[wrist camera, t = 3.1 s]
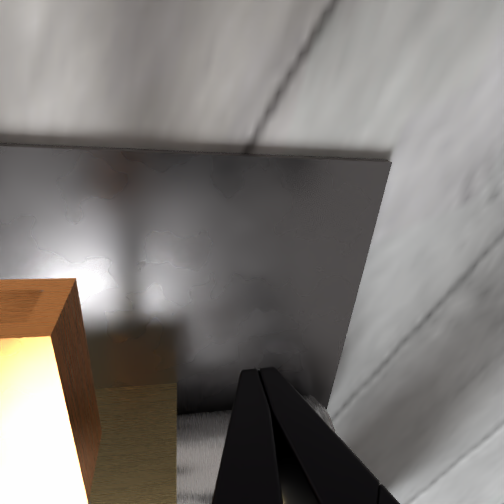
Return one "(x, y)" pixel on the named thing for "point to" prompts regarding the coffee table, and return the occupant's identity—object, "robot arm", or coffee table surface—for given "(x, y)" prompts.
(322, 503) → the robot arm
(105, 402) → the pipe on metal plate
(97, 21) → the coffee table surface
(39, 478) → the valve lever
